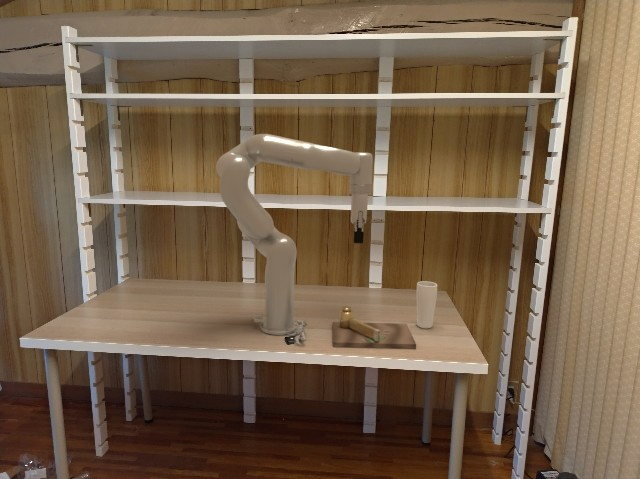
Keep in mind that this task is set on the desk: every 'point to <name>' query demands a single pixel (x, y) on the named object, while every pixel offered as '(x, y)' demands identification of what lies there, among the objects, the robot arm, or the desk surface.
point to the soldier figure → (299, 332)
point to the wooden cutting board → (390, 338)
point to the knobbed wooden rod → (357, 324)
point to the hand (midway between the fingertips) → (358, 242)
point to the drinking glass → (426, 303)
